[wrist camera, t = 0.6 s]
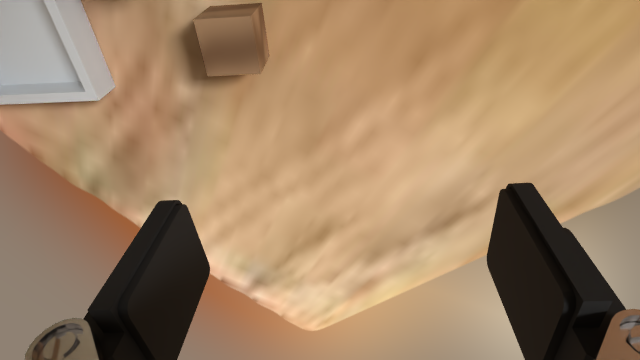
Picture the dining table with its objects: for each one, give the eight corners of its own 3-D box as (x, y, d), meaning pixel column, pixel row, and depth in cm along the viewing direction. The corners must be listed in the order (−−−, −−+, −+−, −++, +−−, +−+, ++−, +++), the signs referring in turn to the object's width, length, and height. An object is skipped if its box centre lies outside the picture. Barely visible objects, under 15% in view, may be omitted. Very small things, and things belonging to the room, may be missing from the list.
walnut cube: (210, 6, 37) (193, 19, 33) (261, 2, 36) (250, 16, 32) (221, 58, 39) (207, 76, 35) (269, 55, 39) (260, 73, 35)
